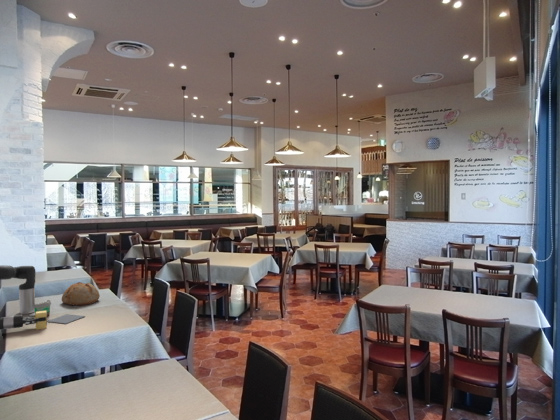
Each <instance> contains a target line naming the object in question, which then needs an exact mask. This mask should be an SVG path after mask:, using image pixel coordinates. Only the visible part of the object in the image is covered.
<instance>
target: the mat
mask: <svg viewBox="0 0 560 420" xmlns="http://www.w3.org/2000/svg"><path fill="white" fill-rule="evenodd" d="M85 317H86V315H78V314H71V313H70V314H69V313H68V314H67V313H66V314H63V315H60V316H58V317H55V318H52V319H49V320H48V319H47V323H50V322H52V323H51V324H59V323H61V325H68V324H70V323H72V322H76V321H77V320H78V321H79V320H81V319H84V318H85Z"/></svg>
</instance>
